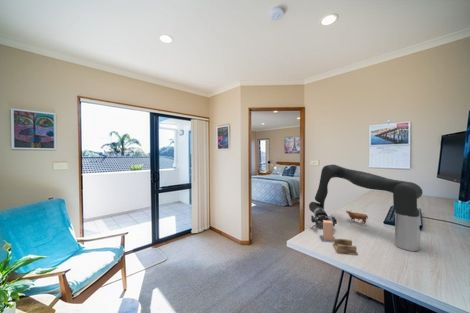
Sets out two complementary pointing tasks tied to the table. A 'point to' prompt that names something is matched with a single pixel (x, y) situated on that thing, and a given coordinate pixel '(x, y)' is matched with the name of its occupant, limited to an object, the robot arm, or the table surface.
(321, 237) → the rubber mat
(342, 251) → the slotted rack
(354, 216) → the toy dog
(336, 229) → the table surface
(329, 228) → the tall salmon pink block
